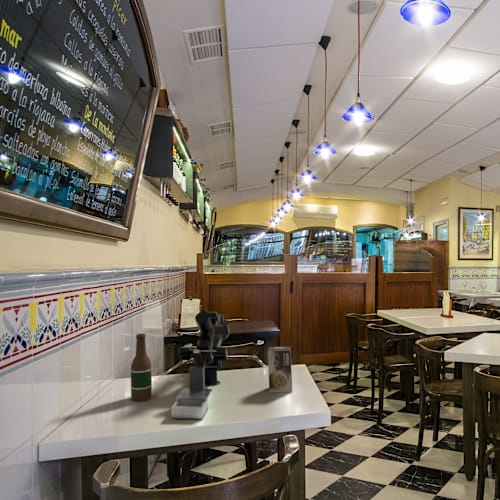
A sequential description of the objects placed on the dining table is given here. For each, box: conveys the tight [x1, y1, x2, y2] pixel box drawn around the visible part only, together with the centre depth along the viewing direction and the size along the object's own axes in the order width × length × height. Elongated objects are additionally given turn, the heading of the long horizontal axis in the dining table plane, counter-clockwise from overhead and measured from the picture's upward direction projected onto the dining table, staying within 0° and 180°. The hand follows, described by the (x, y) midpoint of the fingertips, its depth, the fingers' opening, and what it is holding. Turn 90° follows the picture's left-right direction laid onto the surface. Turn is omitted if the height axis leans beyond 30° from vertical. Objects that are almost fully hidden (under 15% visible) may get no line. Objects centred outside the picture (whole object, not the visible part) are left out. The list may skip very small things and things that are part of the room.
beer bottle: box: [130, 333, 153, 403], centre depth 141 cm, size 8×8×24 cm
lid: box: [175, 365, 213, 401], centre depth 130 cm, size 10×11×9 cm
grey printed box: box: [267, 346, 293, 393], centre depth 146 cm, size 9×6×16 cm
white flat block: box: [171, 398, 209, 421], centre depth 124 cm, size 9×10×4 cm
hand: (200, 373), depth 139 cm, fingers closed
